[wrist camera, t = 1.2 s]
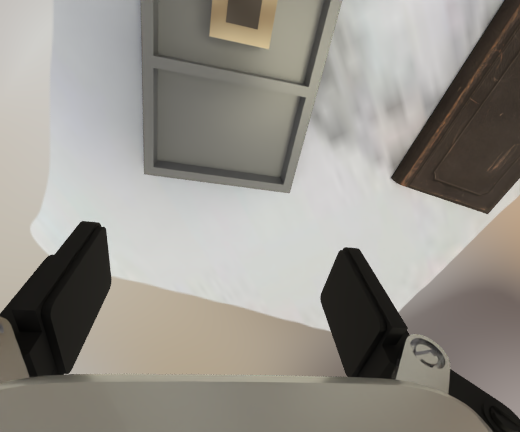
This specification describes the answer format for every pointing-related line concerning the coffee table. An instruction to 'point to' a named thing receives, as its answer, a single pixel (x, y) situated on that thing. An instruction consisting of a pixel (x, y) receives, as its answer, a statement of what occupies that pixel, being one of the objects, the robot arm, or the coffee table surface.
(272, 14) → the birch cube
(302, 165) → the coffee table surface
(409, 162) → the hardcover book
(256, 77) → the grey organiser
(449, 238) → the coffee table surface
